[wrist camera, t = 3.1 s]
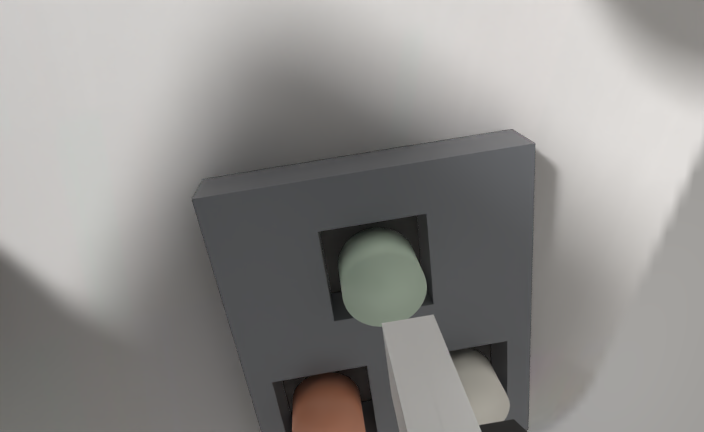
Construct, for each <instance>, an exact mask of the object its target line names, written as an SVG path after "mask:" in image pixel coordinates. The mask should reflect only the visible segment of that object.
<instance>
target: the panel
mask: <svg viewBox="0 0 704 432" xmlns="http://www.w3.org/2000/svg"><path fill="white" fill-rule="evenodd" d="M534 176H535V143H534V142H532V141H531V140H529V139H528V138H526V137H524V136H523V135H521V134H519V133H518V132H516V131H515V130H513V129H510V130H504V131H498V132H492V133H485V134H479V135H473V136H467V137H461V138H455V139H448V140H442V141H436V142H430V143H424V144H417V145H411V146H405V147H399V148H393V149H386V150H380V151H374V152H368V153H362V154H356V155H349V156H343V157H337V158H331V159H325V160H318V161H312V162H306V163H300V164H294V165H287V166H281V167H275V168H269V169H263V170H256V171H250V172H244V173H238V174H232V175H226V176H219V177H213V178H207V179H202V181H201V183H200V185H199V187H198V189H197V190H196V192H195V194H194V196H193V198H192V202H193V205H194V208H195V212H196V215H197V218H198V222H199V225H200V228H201V232H202V235H203V238H204V242H205V245H206V248H207V252H208V255H209V258H210V262H211V265H212V268H213V272H214V275H215V278H216V282H217V285H218V288H219V292H220V295H221V298H222V302H223V305H224V308H225V312H226V315H227V318H228V322H229V325H230V328H231V332H232V335H233V338H234V342H235V345H236V348H237V352H238V355H239V358H240V362H241V365H242V368H243V372H244V375H245V378H246V382H247V385H248V388H249V392H250V395H251V398H252V402H253V405H254V408H255V412H256V415H257V418H258V422H259V425H260V428H261V432H292V415H291V413H290V409H289V405H288V401H287V398H286V394H285V390H284V386H283V382H282V381H283V380H289V379H294V378H300V377H306V376H312V375H317V374H323V373H329V372H334V371H340V370H346V369H351V368H357V367H363V366H366V367H367V373H368V379H369V385H370V392H371V398H372V400H371V401H365V402H361V404H362V411H363V417H364V424H365V431H366V432H399V427H398V422H397V418H396V413H395V409H394V404H393V400H392V395H391V388H390V380H389V373H388V366H387V358H386V351H385V344H384V336H383V329H382V327H377V326H370V325H367V324H364V323H362V322H360V321H358V320H356V319H355V318H354V317H353V316H351V314H350V313H349V312H348V311H347V309H346V307H345V305H344V302H343V298H342V292H337V293H331V289H330V283H329V278H328V272H327V267H326V261H325V256H324V250H323V245H322V240H321V234H320V231H326V230H332V229H338V228H344V227H350V226H356V225H362V224H368V223H374V222H380V221H386V220H392V219H398V218H404V217H410V216H416V215H417V225H418V236H419V247H420V259H421V268H422V271H423V273H424V275H425V278H426V282H427V292H426V296H425V299H424V301H423V303H422V305H421V307H420V308H419V309H418V310H417V312H416V313H415V314H414V315H412V316H411V317H410V318H416V317H422V316H428V315H434V317H435V319H436V322H437V324H438V327H439V329H440V331H441V334H442V336H443V339H444V341H445V344H446V346H447V349H448V351H453V350H459V349H465V348H470V347H476V346H482V345H487V344H491V365H492V367H493V369H494V371H495V373H496V375H497V377H498V379H499V381H500V383H501V385H502V387H503V388H504V390H505V392H506V394H507V396H508V398H509V402H510V408H509V412H508V415H507V417H506V418H505V420H504V421H506V420H511V419H514V420H515V421H516V422H517V423H519V424H520V425H521V426H522V427H523V428H524V429H525V430H528V419H529V379H530V338H531V297H532V257H533V216H534ZM410 318H408V319H410Z"/></svg>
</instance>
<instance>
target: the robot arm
mask: <svg viewBox="0 0 704 432" xmlns="http://www.w3.org/2000/svg"><path fill="white" fill-rule="evenodd" d="M382 329H383V336H384V344H385V351H386V358H387V366H388V373H389V380H390V388H391V395H392V400H393V404H394V409H395V413H396V418H397V422H398V427H399V432H527V431H526V430H525V429H524V428H523V427H522V426H521V425H520V424H519V423H517V422H516V421H515V420H514V419H511V420H506V421H500V422H494V423H488V424H483V425H479V424H478V422H477V419H476V417H475V414H474V412H473V410H472V407H471V405H470V402H469V400H468V397H467V395H466V392H465V390H464V388H463V385H462V383H461V380H460V378H459V375H458V373H457V370H456V368H455V366H454V363H453V361H452V358H451V356H450V353H449V351H448V349H447V346H446V344H445V341H444V339H443V336H442V334H441V331H440V329H439V327H438V324H437V322H436V319H435V317H434V315H428V316H422V317H416V318H410V319H404V320H398V321H392V322H386V323H382Z"/></svg>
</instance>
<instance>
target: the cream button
mask: <svg viewBox="0 0 704 432" xmlns="http://www.w3.org/2000/svg"><path fill="white" fill-rule="evenodd" d="M449 353H450V356H451V358H452V361H453V363H454V366H455V368H456V370H457V373H458V375H459V378H460V380H461V383H462V385H463V388H464V390H465V392H466V395H467V397H468V400H469V402H470V405H471V407H472V410H473V412H474V414H475V417H476V419H477V422H478V424H479V425H483V424H488V423H494V422H500V421H504V420H505V418H506V417H507V415H508V412H509V408H510V402H509V398H508V396H507V394H506V392H505V390H504V388H503V387H502V385H501V383H500V381H499V379H498V377H497V375H496V373H495V371H494V369H493V367H492V365H491V364H490V362H489V360H488V358H487V357H486V356H485V355H484V354H482V353H481V352H479V351H476V350H473V349H466V348H465V349H459V350H453V351H449Z"/></svg>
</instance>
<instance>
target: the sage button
mask: <svg viewBox="0 0 704 432" xmlns="http://www.w3.org/2000/svg"><path fill="white" fill-rule="evenodd" d="M338 270H339V277H340V284H341V291H342V298H343V302H344V305H345V307H346V309H347V311H348V312H349V313H350V314H351V316H353V317H354V318H355V319H356V320H358V321H360V322H362V323H364V324H367V325H370V326H377V327H382V323H386V322H392V321H398V320H404V319H408V318H410V317H411V316H412V315H414V314H415V313H416V312H417V310H418V309H419V308H420V307H421V305H422V303H423V301H424V299H425V296H426V292H427V282H426V278H425V275H424V273H423V271H422V268H421V266H420V264H419V262H418V260H417V257H416V255H415V253H414V251H413V248H412V246H411V244H410V243H409V241H408V240H407V239H406V238H405V237H404V236H403V235H402V234H400V233H399V232H397V231H395V230H392V229H389V228H383V227H375V228H369V229H365V230H362V231H360V232H358V233H356V234H355V235H353V236H352V237H351V238H350V239H349V240H348V241H347V242H346V243H345V244H344V246H343V247H342V249H341V251H340V254H339V258H338Z"/></svg>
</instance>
